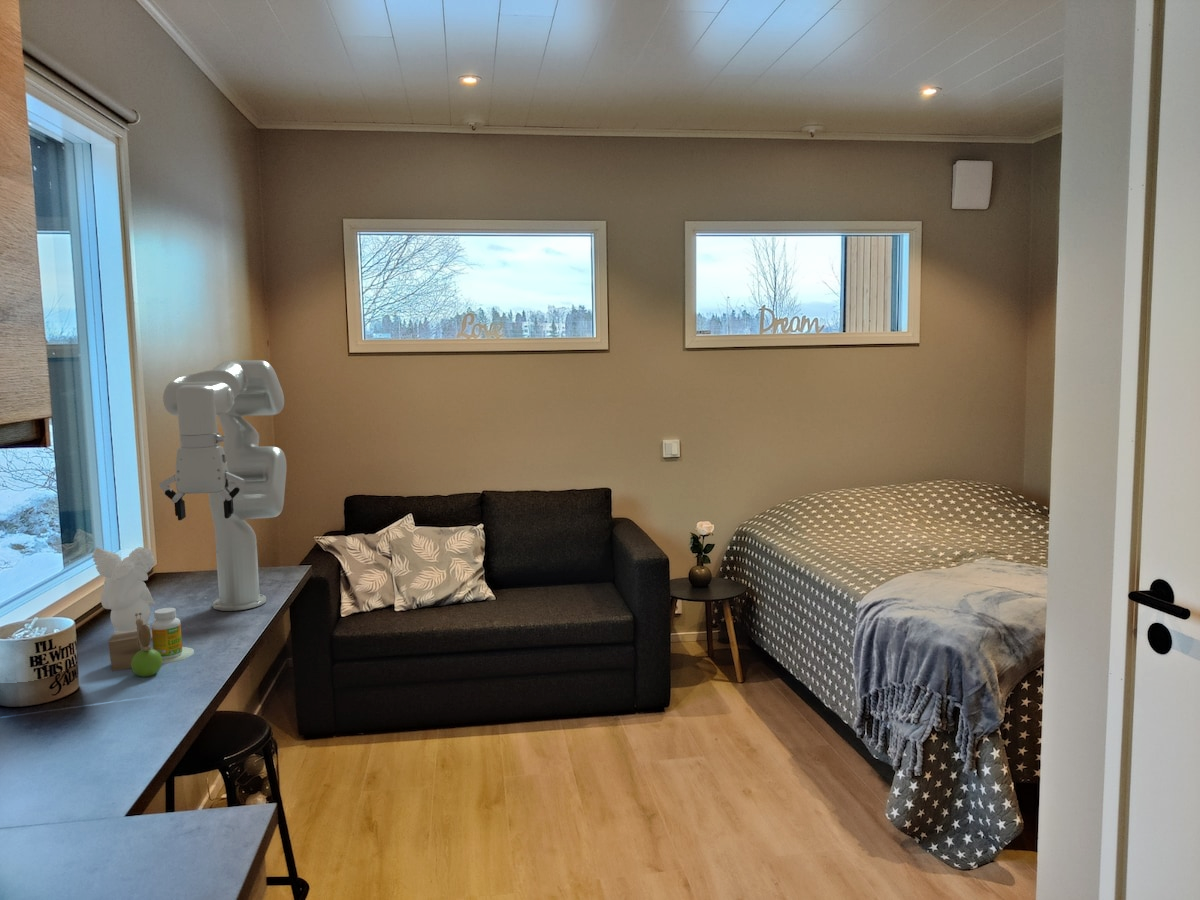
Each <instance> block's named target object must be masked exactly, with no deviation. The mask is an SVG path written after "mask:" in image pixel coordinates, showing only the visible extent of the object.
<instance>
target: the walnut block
mask: <svg viewBox="0 0 1200 900" xmlns="http://www.w3.org/2000/svg"><path fill="white" fill-rule="evenodd" d="M108 649H109V650H108V651H109V658H110V666H111V671H112V672H116V671H122V670H123V671H124V670H128V669H132V668H131V661H132V658H133V656H134V655H135V654H136V653H137V652H138V651H140V650H142V648H141V646H140V644H139V639H138V635H137V631H134V632H128V633H122V634H116V635H115V634H112V635H111V636H110V638H109V641H108Z"/></svg>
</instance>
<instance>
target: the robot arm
mask: <svg viewBox="0 0 1200 900" xmlns="http://www.w3.org/2000/svg"><path fill="white" fill-rule="evenodd" d="M162 396H163V397H162V402H163V406H164V408H165V410H166V411H167V413H169V414H170V415H173V416H176V417H177V418H178V419H177V421H178V431H179V432H178V434H179V443H180V447H179V448H177V450H176V451H177V452H176V457H175V458H176V459H175V474H174V475H172V476H170V477H168V478H166V479H164V480H163V481H160V482H159V484H158V485H159V487H160V488H161V490H162V492H163V493H164V495H165V496H166V497H167V498H168V499H169V500H171V502H172V503H173V505H174V514H175V517H177V520H178V521H182V520H183V519H185V518H186V516H187V515H186V504H185V502H186V501H185V500H184V499H183V498H184V496H185V495H191V494H192V495H193V494H195V495H196V494H197V495H198V494H208V504H209V509H210V512H211V517H212V522H213V528H214V538H215V554H216V569H217V571H216V572H217V584H218V585H217V586H218V598H217V599H216V600H214V601H213V602H212V607H213V609H214V610H217V611H223V612H228V611H229V612H232V611H234V612H235V611H243V610H248V609H253V608H256V607H260V606H262V605H264V604H265V603H267V596H266V595H264V594H262V593H260V583H259V582H260V580H259V579H260V578H259V563H258V562H259V560H258V559H259V558H258V547H257V543H258V541H257V535H256V532H255V531H254V528H252V526H251V525H250V524H249V523H248V522H247V521H246V520H249V519H251V520H252V519H253V520H255V519H269V518H271V519H272V518H276V517H278V516H279V515H281V513H282V512H283V509H284V504H285V494H286V493H285V491H286V483H287V481H286V480H287V470H288V469H287V468H288V467H287V457H286V455H285V452H284V450H282V449H281V448H280V447H277V446H271V445H270V446H268V445H267V446H263V445H261V446H259V445H260V434H259V432H258V431H257V430H256V428H255V427H254V426H253V425H252V424H251V423H250V422H248V420H246V419H245V418H244V417H245V416H247V417H248V416H255V417H256V416H275V415H278V414H280V413H281V412H282V411H283V409H284V407H285V406H284V405H285V396H284V392H283V388H282V386H281V384H280V381H279V378H278V375H277V373H276V371H275V369H274V367H273V366H272V365H271V364H270V363H269V362H267V361H265V360H262V359H260V360H258V359H256V360H254V359H252V360H251V359H249V360H246V359H244V360H241V359H239V360H235V359H234V360H226V361H224V362H223V361H222V362H221V363H219V364H218V365H216V366H215V367H213V368H212V369H211V370H209V369H208V370H205V371H200V372H196V373H192V374H187V375H182V376H178V377H176V378H174V379H172V380H171V381H170V382H168V384H167V385H166V387H165V388H164V390H163V394H162ZM243 416H244V417H243ZM217 417H218V419H217ZM217 420H219V423H220V426H221V429H222V431H223V435H221V434H220V433H219V431H218V421H217ZM220 443H223V445H220ZM174 482H175V489H176V491H177V492H176V491H174V490H173V489H172V488H171V486H170V485H171V484H173V483H174Z"/></svg>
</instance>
